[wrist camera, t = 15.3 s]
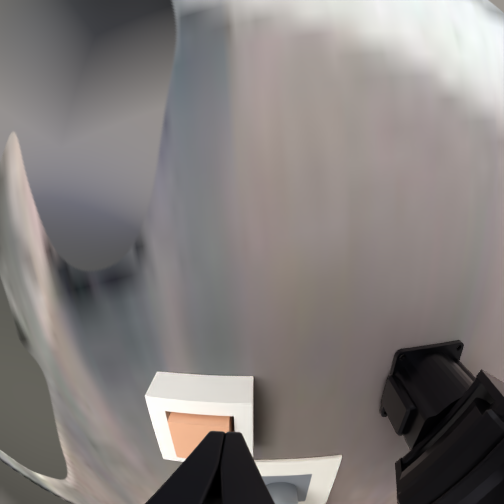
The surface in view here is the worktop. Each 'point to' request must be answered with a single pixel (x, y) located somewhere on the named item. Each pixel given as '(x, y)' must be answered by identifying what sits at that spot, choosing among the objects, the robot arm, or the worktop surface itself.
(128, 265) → the worktop surface
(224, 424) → the button cap
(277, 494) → the grey rounded cylinder
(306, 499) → the paper sheet
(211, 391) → the button housing
